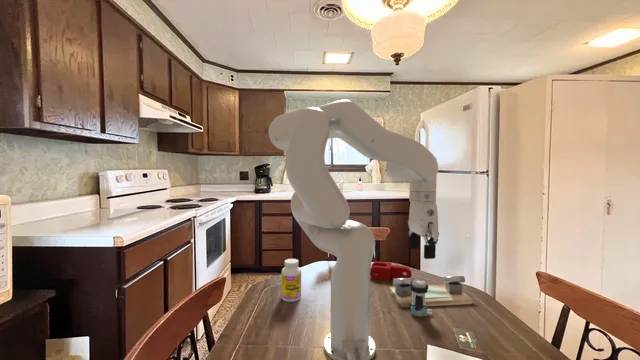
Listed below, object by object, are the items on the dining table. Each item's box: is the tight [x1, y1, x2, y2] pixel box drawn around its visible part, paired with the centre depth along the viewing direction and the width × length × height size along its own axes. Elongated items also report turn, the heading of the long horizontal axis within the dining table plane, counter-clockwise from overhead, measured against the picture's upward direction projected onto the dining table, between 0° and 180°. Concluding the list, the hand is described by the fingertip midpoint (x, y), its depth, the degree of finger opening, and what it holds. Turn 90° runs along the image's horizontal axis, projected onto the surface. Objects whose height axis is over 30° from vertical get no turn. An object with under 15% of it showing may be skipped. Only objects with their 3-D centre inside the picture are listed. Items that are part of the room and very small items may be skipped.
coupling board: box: [388, 283, 474, 308], centre depth 98 cm, size 12×24×2 cm, turn 96°
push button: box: [409, 279, 433, 317], centre depth 86 cm, size 7×5×10 cm
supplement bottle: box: [280, 258, 302, 303], centre depth 96 cm, size 7×7×13 cm
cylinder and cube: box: [392, 275, 466, 297], centre depth 97 cm, size 5×25×5 cm, turn 96°
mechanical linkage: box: [370, 260, 412, 281], centre depth 115 cm, size 16×7×5 cm, turn 71°
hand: (421, 253), depth 86 cm, fingers open, 9 cm apart
